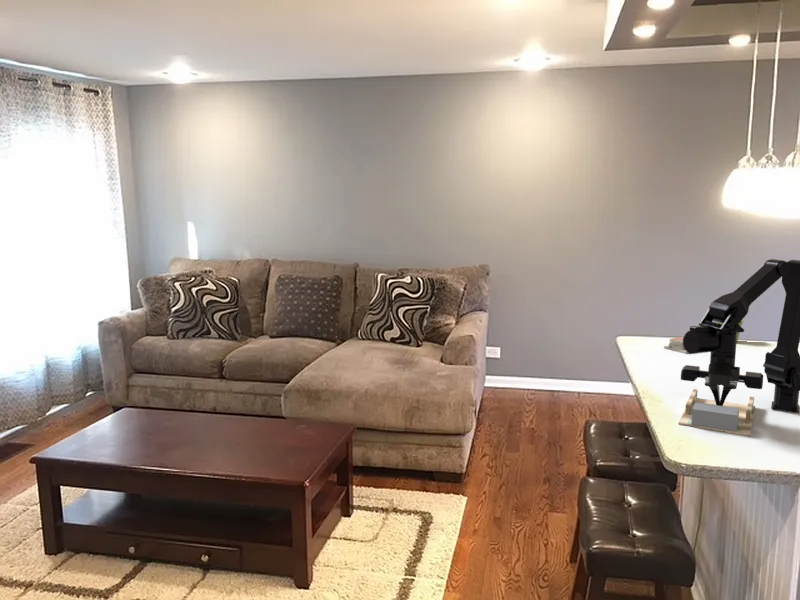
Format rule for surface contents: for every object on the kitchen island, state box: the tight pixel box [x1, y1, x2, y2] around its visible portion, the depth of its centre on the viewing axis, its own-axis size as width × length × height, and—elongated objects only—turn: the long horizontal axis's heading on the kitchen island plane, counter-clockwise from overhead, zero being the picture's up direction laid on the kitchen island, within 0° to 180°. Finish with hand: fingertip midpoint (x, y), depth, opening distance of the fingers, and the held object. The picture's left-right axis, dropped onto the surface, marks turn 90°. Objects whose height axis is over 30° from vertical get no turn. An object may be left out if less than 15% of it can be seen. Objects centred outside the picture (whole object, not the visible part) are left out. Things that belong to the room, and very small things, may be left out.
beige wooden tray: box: [678, 388, 756, 437], centre depth 177 cm, size 24×16×3 cm, turn 150°
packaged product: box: [663, 336, 690, 355], centre depth 250 cm, size 18×5×10 cm
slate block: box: [691, 402, 739, 431], centre depth 169 cm, size 6×10×4 cm, turn 60°
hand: (719, 409), depth 176 cm, fingers closed
